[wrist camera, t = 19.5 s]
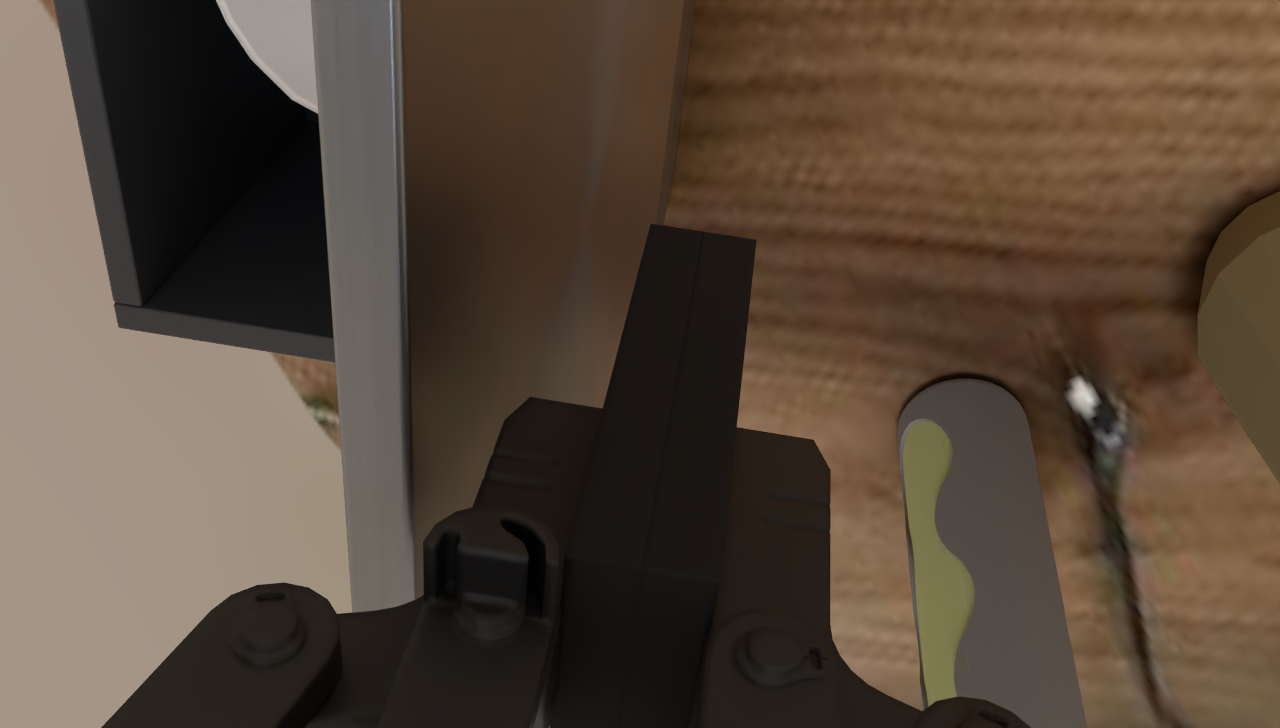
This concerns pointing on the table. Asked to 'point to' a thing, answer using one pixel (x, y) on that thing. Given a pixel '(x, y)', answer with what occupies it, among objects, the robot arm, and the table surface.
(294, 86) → the cup
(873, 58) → the table surface
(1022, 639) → the spray bottle
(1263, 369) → the squeeze bottle
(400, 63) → the lid
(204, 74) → the dark grey storage bin
